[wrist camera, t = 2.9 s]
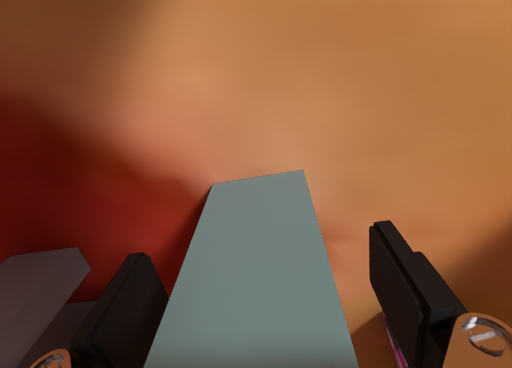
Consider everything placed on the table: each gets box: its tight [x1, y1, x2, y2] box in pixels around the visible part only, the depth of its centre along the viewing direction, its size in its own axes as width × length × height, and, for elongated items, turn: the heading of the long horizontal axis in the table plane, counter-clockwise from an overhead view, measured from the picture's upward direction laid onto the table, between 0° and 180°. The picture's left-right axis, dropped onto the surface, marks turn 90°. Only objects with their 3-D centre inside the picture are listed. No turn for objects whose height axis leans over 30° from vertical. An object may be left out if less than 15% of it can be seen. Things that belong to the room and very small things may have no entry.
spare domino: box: [144, 170, 359, 368], centre depth 11 cm, size 2×5×10 cm, turn 101°
